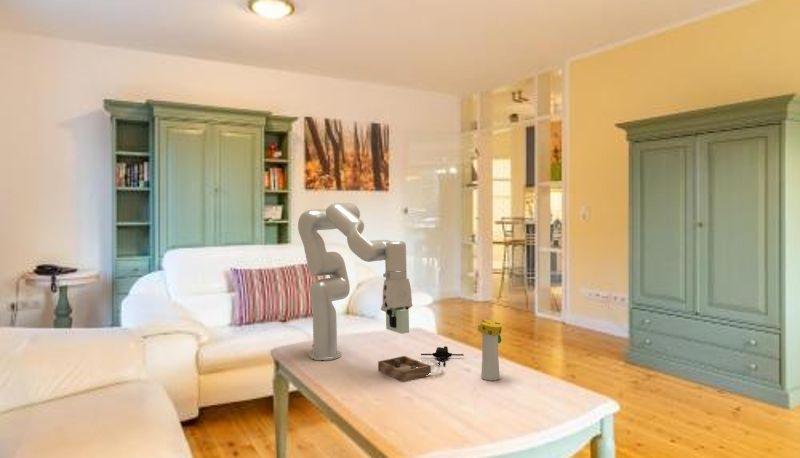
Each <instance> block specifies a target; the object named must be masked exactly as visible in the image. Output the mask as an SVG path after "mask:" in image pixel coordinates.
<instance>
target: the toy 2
mask: <svg viewBox="0 0 800 458" xmlns="http://www.w3.org/2000/svg"><path fill="white" fill-rule="evenodd" d="M502 329H503V324H502V323H501V322H498V321H495V320H491V319H485V318H482V320H481V323H479V324H478V325H477V331H478V332H479V333H481V337H482V338H481V339H482V340H481V342H482V343H481V344H482V345H481V350H482V353H481V360H482V361H481V379H483V380H485V381H498V380H499V379H500V363H499V361H500V360H499V344H500V343H501V342H502V337H501V335H502V331H503V330H502Z"/></svg>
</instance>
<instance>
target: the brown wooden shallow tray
mask: <svg viewBox="0 0 800 458" xmlns="http://www.w3.org/2000/svg"><path fill="white" fill-rule="evenodd" d="M377 363H378V364H377V366H378V368H377V369H378V372H380V373H382V374H385V375H387V376H389V377H391V378H393V379H396V380H398V381H400V382H402V383H406V382H410V381H414V380H418V379H422V378H425V377H424V376H426V375H428V374H429V373H431V374H432V368H431V367H432V366H431V365H430V364H428V363H424V362H423V361H419V360H417V359H414V358H411V357H410V356H407V355H401V356H398V357H393V358H387V359H383V360H378V361H377ZM416 367H418V368H416ZM426 377H427V376H426Z"/></svg>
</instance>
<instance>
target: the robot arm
mask: <svg viewBox="0 0 800 458" xmlns="http://www.w3.org/2000/svg"><path fill="white" fill-rule="evenodd" d="M297 229H298V235H299V236H300V239H301V242H302V245H303V249H304V254H305V259H306V262H307V263H306V264H307V268H308V271H309V274H310V275H312V277H326V276H329V277H328V278H327V277H326V278H322V279H317V280H315V281H313V282H312V284H311V285H310V287H309V297H310V301H311V308H312V337H313V338H312V342H313V343H312V348H313V351H312V352H310V353H309V358H310V359H311V360H313V359H314V361H321V360H324V361H331V360H337V359H339V358H340V357H341V356H342V352H341V351H339V350H338V329H337V328H338V325H337V324H338V323H337V320H338V319H337V312H336V311H337V310H336V308H335V305H334V304H333V302H335V301H340V300H344V299H345V298H347V297H348V296H349V295H350V292H351V291H350V290H351V289H350V288H351V287H350V280H349V275H348V272H347V267H346V263H345V260H344V258H343V256H342V255H341V254H340V252H337V251H327V248H326V244H325V243H326V242H325V241H324V239H323V237H322V236H321V234H319V233H318V231H321V230H322V231H323V230H324V231H325V230H326V231H329V230H338V231H339V232H340V233H342V234H343V235H344V236H345V237H346V240H347V241H346V242H347V244H348V245H347V246H348V247H349V250H351V252H352V253H353V254H355V256H357V257H358V258H359V259H360V260H361V261H364V262H366V263H371V262H379V261H385V263H384V264H385V265H384V266H385V271H384V273H383V275H382V276H383V278H385V279H383V287H382V304H381V308H380V311H383V312H385V314H386V313H387V314H388V316H389V324H390V327H393V328H396V317H395V308H402V309H406V310H409V309H411V308H412V307H413V303H412V302H413V300H412V289H411V283H410V279H409V278H408V275H407V274H408V273H407V245H406V242H405V241H403V240H388V239H378V240H377V239H376V240H367V239H366V238H365V237H364V236H363V235H362V233H363V231H364V229H365V223H364V221H363V220H362V219H361V212H360V209H359V207H358V206H357V205H355V204H354V203H350V202H338V203H337V202H335V203H332V204H330V205H328V206H327V208H316V209H315V208H314V209H309V210H305V211H303V212H302V213H301V214H300V216H299V218H298V222H297ZM386 307H388V309H387V308H386Z"/></svg>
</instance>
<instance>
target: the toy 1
mask: <svg viewBox="0 0 800 458" xmlns="http://www.w3.org/2000/svg"><path fill="white" fill-rule="evenodd" d="M420 355H421V356H432V357H434V358H437V359H438V362H437V365H438V364H439V365H440V366H441V361H443V363H442V365H443V367H446V359H448V358H451V357H452V356H457V357H458V356H463V357H464V356H465V354H464V353H452V352H449V349H448V346H443V347H440V346H438V347H436V350H435V352H432V353H420ZM439 365H438V366H439Z"/></svg>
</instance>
